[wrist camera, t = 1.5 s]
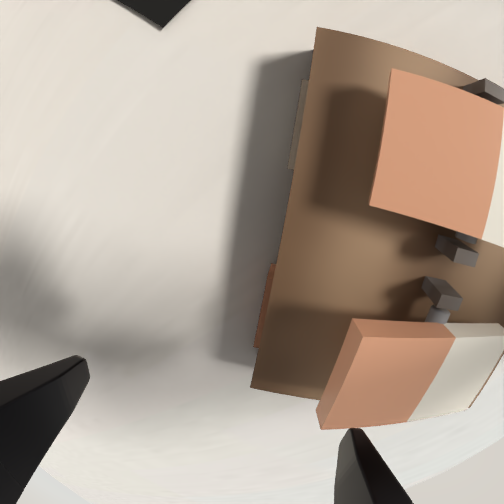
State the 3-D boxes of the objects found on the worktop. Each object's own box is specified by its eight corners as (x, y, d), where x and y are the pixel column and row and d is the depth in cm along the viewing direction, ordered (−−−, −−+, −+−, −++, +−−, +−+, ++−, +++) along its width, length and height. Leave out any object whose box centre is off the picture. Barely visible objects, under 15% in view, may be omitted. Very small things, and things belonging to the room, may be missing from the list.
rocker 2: (491, 308, 12) (514, 327, 10) (447, 392, 14) (462, 415, 12) (348, 297, 11) (366, 326, 9) (310, 401, 13) (318, 434, 11)
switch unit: (536, 135, 11) (587, 138, 6) (455, 381, 17) (478, 428, 12) (308, 48, 13) (310, 5, 8) (253, 355, 19) (237, 411, 14)
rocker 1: (556, 144, 7) (580, 143, 5) (533, 263, 9) (554, 278, 7) (388, 75, 10) (392, 58, 8) (365, 209, 12) (366, 216, 10)
